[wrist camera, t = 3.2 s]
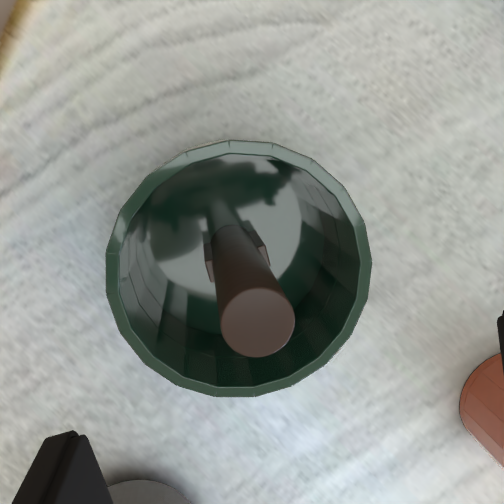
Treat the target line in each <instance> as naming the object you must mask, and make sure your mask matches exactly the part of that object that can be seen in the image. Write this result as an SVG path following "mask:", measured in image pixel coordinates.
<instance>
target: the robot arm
mask: <svg viewBox="0 0 504 504" xmlns="http://www.w3.org/2000/svg"><path fill="white" fill-rule="evenodd" d="M497 327H498V334H499V342H500V350H501V358H502V366H503V374H504V310H503V314H502V316H500V317H499V318H498V320H497ZM12 504H114V503H113V500H112V498H111V495H110V493H109V490H108V488H107V485H106V483H105V480H104V478H103V475H102V473H101V470H100V468H99V465H98V463H97V460H96V458H95V455H94V453H93V450H92V447H91V445H90V442H89V440H88V438H87V437H86V435H80V436H79V435H78V434H77V432H76V431H73V430H72V431H69V432H65V433H62V434H58V435H55V436H51V437H48V438H46V439H45V440H44V442H43V444H42V446H41V448H40V450H39V451H38V453H37V455H36V457H35V459H34V461H33V463H32V465H31V467H30V469H29V471H28V473H27V475H26V477H25V479H24V481H23V482H22V484H21V486H20V488H19V490H18V492H17V494H16V496H15V498H14V500H13V502H12Z"/></svg>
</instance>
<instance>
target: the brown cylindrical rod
mask: <svg viewBox="0 0 504 504" xmlns="http://www.w3.org/2000/svg"><path fill="white" fill-rule="evenodd" d="M203 248H204V261H205V265H206V269H207V272H208V276H209V279H210V282H211V283H212V282H215V290H216V297H217V305H218V312H219V320H220V327H221V332H222V335H223V338H224V339H225V341H226V343H227V344H228V345H229V346H230V347H231V348H232V349H233V350H234V351H236V352H238V353H239V354H242V355H245V356H248V357H264V356H268V355H270V354H273V353H275V352H277V351H278V350H280V349H281V348H282V347H283V346H284V345H285V344H286V343H287V342H288V340H289V339H290V337H291V335H292V333H293V330H294V325H295V315H294V311H293V308H292V306H291V304H290V302H289V300H288V298H287V297H286V295H285V293H284V292H283V290H282V288H281V286H280V285H279V283H278V281H277V279H276V278H275V276H274V274H273V273H272V271H271V269H270V261H269V257H268V253H267V249H266V245H265V244H264V242H263V241H262V239H261V238H260V236H259V235H258V233H257V232H256V231H251V232H248V231H247V230H246V229H244V228H242V227H240V226H236V225H229V226H225V227H222V228H221V229H219V230H218V231H217V232H216V233H215V234H214V235H213V237H212V239H211V242H210V243H207V244H204V245H203Z"/></svg>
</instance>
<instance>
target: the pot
mask: <svg viewBox="0 0 504 504" xmlns="http://www.w3.org/2000/svg"><path fill="white" fill-rule="evenodd" d="M229 225H236V226H240V227H242V228H244V229H246V230H247V231H248V232H251V231H256V232H257V233H258V235H259V236H260V238H261V239H262V241H263V242H264V244H265V245H266V249H267V253H268V257H269V261H270V269H271V271H272V273H273V274H274V276H275V278H276V279H277V281H278V283H279V285H280V286H281V288H282V290H283V292H284V293H285V295H286V297H287V298H288V300H289V302H290V304H291V306H292V308H293V311H294V315H295V325H294V330H293V333H292V335H291V337H290V339H289V340H288V342H287V343H286V344H285V345H284V346H283V347H282V348H281V349H280V350H278V351H277V352H275V353H273V354H270V355H268V356H264V357H248V356H245V355H242V354H239V353H238V352H236V351H234V350H233V349H232V348H231V347H230V346H229V345H228V344H227V343H226V341H225V339H224V338H223V335H222V332H221V327H220V320H219V312H218V305H217V297H216V290H215V282H212V283H211V282H210V279H209V276H208V272H207V269H206V265H205V261H204V248H203V245H204V244H207V243H210V242H211V239H212V237H213V235H214V234H215V233H216V232H217V231H218V230H219V229H221V228H222V227H225V226H229ZM371 268H372V258H371V252H370V247H369V242H368V237H367V232H366V227H365V223H364V220H363V218H362V217H361V215H360V213H359V211H358V210H357V208H356V206H355V204H354V203H353V201H352V199H351V197H350V196H349V194H348V192H347V190H346V189H345V188H344V186H343V185H342V184H341V183H340V182H338V181H337V180H336V179H335V178H334V177H333V176H332V175H331V174H329V173H328V172H327V171H326V170H325V169H324V168H323V167H321V166H320V165H319V164H318V163H317V162H316V161H315V160H313V159H312V158H309V157H307V156H304V155H302V154H300V153H297V152H295V151H292V150H290V149H287V148H285V147H283V146H280V145H278V144H275V143H272V142H258V141H243V140H225V139H222V140H217V141H213V142H209V143H205V144H201V145H197V146H194V147H190V148H188V149H185V150H184V151H182V152H181V153H179V154H178V155H176V156H175V157H173V158H171V159H170V160H168V161H167V162H165V163H164V164H162V165H161V166H159V167H158V168H157V169H155V170H154V171H153V172H151V173H150V174H149V175H148V176H147V177H146V178H145V179H144V180H143V182H142V183H141V184H140V185H139V187H138V188H137V189H136V191H135V192H134V193H133V194H132V196H131V197H130V198H129V199H128V201H127V202H126V203H125V205H124V206H123V207H122V208H121V210H120V212H119V214H118V217H117V220H116V223H115V226H114V229H113V232H112V235H111V237H110V240H109V243H108V246H107V249H106V293H107V294H106V296H107V298H108V301H109V304H110V307H111V310H112V313H113V316H114V318H115V321H116V324H117V327H118V330H119V332H120V334H121V335H122V336H123V337H124V339H125V340H126V341H127V342H128V344H129V345H130V346H131V348H132V349H133V350H134V351H135V353H136V354H137V355H138V356H139V358H140V359H141V360H142V361H143V363H145V365H147V366H148V367H150V368H151V369H153V370H154V371H156V372H157V373H159V374H160V375H162V376H163V377H165V378H166V379H168V380H169V381H171V382H172V383H174V384H175V385H178V386H179V387H183V388H186V389H190V390H193V391H196V392H200V393H203V394H206V395H210V396H213V397H215V396H216V397H254V396H255V397H257V396H260V395H263V394H267V393H270V392H274V391H277V390H280V389H284V388H287V387H291V386H292V385H295V384H296V383H298V382H299V381H301V380H302V379H304V378H306V377H307V376H309V375H310V374H312V373H314V372H315V371H317V370H318V369H320V368H321V367H323V366H324V365H325V364H327V363H328V361H329V360H330V359H331V358H332V357H333V356H334V355H335V353H336V352H337V351H338V350H339V349H340V348H341V347H342V346H343V344H344V343H345V342H346V341H347V340H348V339H349V338H350V335H352V333H353V330H354V328H355V326H356V324H357V322H358V319H359V317H360V315H361V313H362V311H363V309H364V306H365V304H366V302H367V300H368V292H369V284H370V276H371Z"/></svg>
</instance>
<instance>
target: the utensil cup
mask: <svg viewBox="0 0 504 504" xmlns="http://www.w3.org/2000/svg"><path fill="white" fill-rule="evenodd" d="M460 415H461V420H462V422H463V424H464V426H465V428H466V430H467V431H468V432H469V433H470V434H471V435H472V436H473V438H474V439H475V441H476V442H477V443H478V444H479V445H480V446H481V447H482V448H483V449H484V450H485V452H486V453H487V454H488V455H489V456H490V457H491V458H492V459H493V460H494V461H495V462H496V463H497V464H498V466H499V467H500V468H501V469H502V470H503V471H504V374H503V366H502V358H501V353H500V354H497V355H495V356H493V357H491V358H489V359H488V360H486V361H485V362H483V363H482V364H481V365H480V366H479V367H478V368H477V369H476V370H475V371H474V372H473V373H472V374H471V376H470V377H469V379H468V380H467V382H466V384H465V386H464V388H463V391H462V394H461V398H460Z"/></svg>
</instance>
